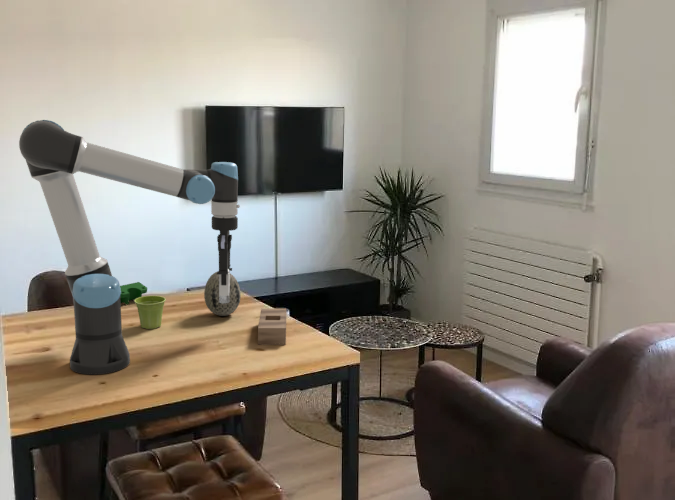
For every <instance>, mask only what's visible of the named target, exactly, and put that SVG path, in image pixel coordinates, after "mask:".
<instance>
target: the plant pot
mask: <svg viewBox="0 0 675 500" xmlns="http://www.w3.org/2000/svg"><path fill="white" fill-rule="evenodd" d="M166 300H167V299H166V297H165V296H161V295H145V296H143V295H142V297H139V298H136V299H135V300H133V301H134V304H135V305H136V306H135V307H136V308H137V313H138V319H139V323H140V328H141V329H147V330H156V329H158V327H161V326H162V321H163V319H162V318H163V311H164V305H165V302H166Z"/></svg>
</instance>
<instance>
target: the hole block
mask: <svg viewBox="0 0 675 500" xmlns="http://www.w3.org/2000/svg"><path fill="white" fill-rule="evenodd" d="M286 340H287V308H266V307H265V308H263V307H262V308H261V309H260V314H259V320H258V328H257V345H264V346H265V345H275V346H276V345H286V342H287V341H286Z"/></svg>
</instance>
